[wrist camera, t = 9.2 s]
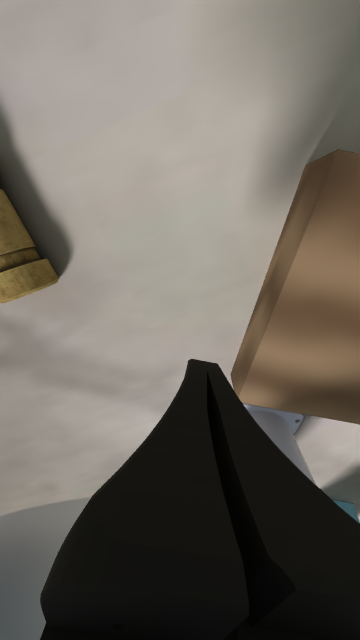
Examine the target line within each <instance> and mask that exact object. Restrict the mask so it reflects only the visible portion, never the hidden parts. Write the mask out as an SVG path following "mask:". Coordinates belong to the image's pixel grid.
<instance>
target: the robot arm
mask: <svg viewBox="0 0 360 640" xmlns="http://www.w3.org/2000/svg"><path fill="white" fill-rule="evenodd" d="M303 418H304V416H303V414H301V413H295V412H290V411H284V410H279V409H273V408H268V407H262V406H257V405H251V404H246V403H242V402H241V400H240V399H239V397H238V396H237V394H236V393H235V391H234V390H233V388H232V387H231V385H230V383H229V382H228V380H227V378H226V377H225V375H224V373H223V372H222V370H221V368H220V367H219V365H218V364H216V363H211V362H206V361H200V360H195V359H190V360H188V365H187V369H186V373H185V377H184V380H183V382H182V384H181V387H180V389H179V391H178V392H177V394H176V396H175V398H174V400H173V401H172V403H171V405H170V406H169V408H168V409H167V411H166V412H165V414H164V415H163V417H162V418H161V420H160V421H159V423H158V424H157V425H156V426H155V428H154V429H153V430H152V432H151V433H150V434H149V436H148V437H147V438H146V439H145V441H144V442H143V443H142V444H141V445H140V446H139V448H138V449H137V450H136V451H135V452H134V453H133V454H132V455H131V457H130V458H129V459H128V460H127V461H126V462H125V463H124V464H123V465H122V467H121V468H120V469H119V470H118V471H117V472H116V473H115V474H114V475H113V476H112V477H111V478H110V479H109V480H108V481H107V482H106V483H105V484H104V485H103V486H102V487H101V488H100V489H99V490H98V491H97V492H96V493H95V494H94V495H93V496H92V497H91V499H90V500H89V502H88V504H87V505H86V506H85V508H84V509H83V511H82V513H81V514H80V516H79V517H78V519H77V520H76V522H75V523H74V525H73V527H72V528H71V530H70V532H69V533H68V535H67V537H66V539H65V540H64V543H63V544H62V546H61V548H60V550H59V552H58V555H57V556H56V558H55V561H54V563H53V566H52V568H51V571H50V573H49V576H48V578H47V580H46V583H45V585H44V588H43V590H42V593H41V598H40V602H41V607H42V611H43V614H44V617H45V620H46V625H45V628H44V630H43V633H42V636H41V639H40V640H360V523H358V522H357V521H356V520H355V519H354V518H352V517H351V516H350V515H349V514H348V513H346V512H345V511H344V510H343V509H342V508H341V507H339V506H338V505H337V504H336V503H335V502H334V501H333V500H332V499H330V498H329V497H328V496H327V495H326V494H325V493H324V492H323V491H322V490H321V489H319V488H318V487H317V486H316V484H315V482H314V480H313V477H312V475H311V473H310V471H309V469H308V466H307V464H306V462H305V460H304V458H303V455H302V453H301V451H300V449H299V447H298V444H297V442H296V440H295V438H294V436H293V435H294V433H295V431H296V430H297V428H298V427H299V425H300V423H301V422H302V420H303Z"/></svg>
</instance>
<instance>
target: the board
mask: <svg viewBox="0 0 360 640" xmlns="http://www.w3.org/2000/svg"><path fill="white" fill-rule="evenodd" d="M231 379H232V383H233V388H234V391H235V393H236V394H237V396H238V397H239V399H240V400H241V402H242V403H246V404H251V405H257V406H262V407H268V408H273V409H279V410H284V411H290V412H295V413H301V414H306V415H311V416H317V417H322V418H328V419H333V420H339V421H344V422H350V423H355V424H360V154H358V153H353V152H348V151H343V150H339V149H338V150H336V151H334V152H332V153H330V154H328V155H326V156H324V157H322V158H320V159H318V160H316V161H313V162H311V163H309V164H307V165H306V166H305V169H304V172H303V174H302V177H301V180H300V183H299V185H298V188H297V191H296V194H295V197H294V199H293V202H292V205H291V208H290V211H289V213H288V216H287V219H286V222H285V224H284V227H283V230H282V233H281V236H280V238H279V241H278V244H277V247H276V250H275V252H274V255H273V258H272V261H271V263H270V266H269V269H268V272H267V275H266V277H265V280H264V283H263V286H262V289H261V291H260V294H259V297H258V300H257V302H256V305H255V308H254V311H253V314H252V316H251V319H250V322H249V325H248V328H247V330H246V333H245V336H244V339H243V341H242V344H241V347H240V350H239V353H238V355H237V358H236V361H235V364H234V367H233V369H232V372H231Z"/></svg>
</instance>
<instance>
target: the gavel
mask: <svg viewBox="0 0 360 640" xmlns="http://www.w3.org/2000/svg"><path fill="white" fill-rule="evenodd" d="M35 247H36V246H35V244H34V243H33V241H32V239H31V237H30V236H29V234H28V232H27V230H26V229H25V227H24V225H23V223H22V222H21V220H20V218H19V216H18V215H17V213H16V211H15V209H14V208H13V206H12V204H11V202H10V201H9V199H8V197H7V195H6V194H5V192H4V191H3V190H1V189H0V303H6V302H9V301H12V300H15V299H18V298H20V297H23V296H26V295H28V294H31V293H33V292H36V291H38V290H41V289H43V288H46V287H48V286H50V285H53V284H55V283H56V282H57V281H58V280H59V278H58V277H57V275H56V273H55V271H54V270H53V268H52V266H51V264H50V262H49V261H48V259H40V257H39V256H38V254H37V252H36V250H35V249H34V248H35Z"/></svg>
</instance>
